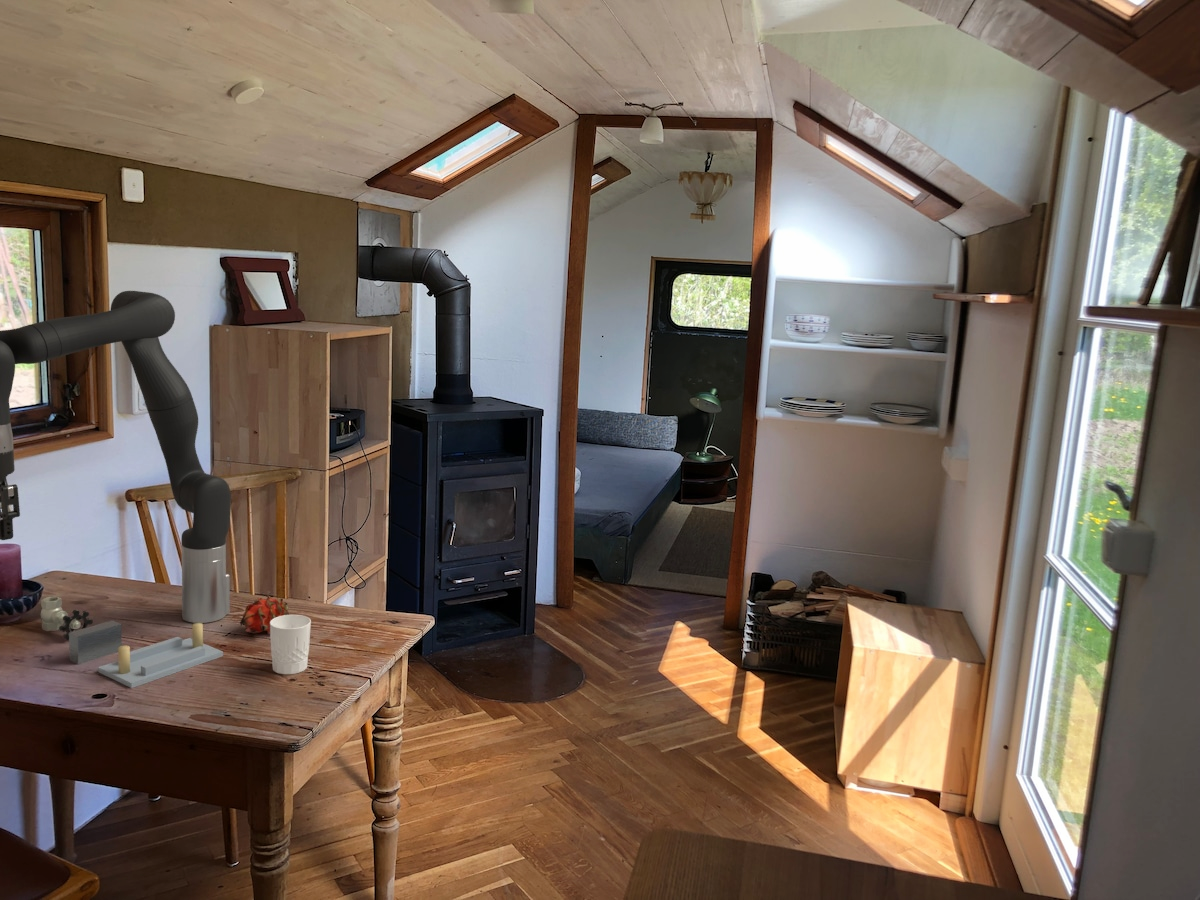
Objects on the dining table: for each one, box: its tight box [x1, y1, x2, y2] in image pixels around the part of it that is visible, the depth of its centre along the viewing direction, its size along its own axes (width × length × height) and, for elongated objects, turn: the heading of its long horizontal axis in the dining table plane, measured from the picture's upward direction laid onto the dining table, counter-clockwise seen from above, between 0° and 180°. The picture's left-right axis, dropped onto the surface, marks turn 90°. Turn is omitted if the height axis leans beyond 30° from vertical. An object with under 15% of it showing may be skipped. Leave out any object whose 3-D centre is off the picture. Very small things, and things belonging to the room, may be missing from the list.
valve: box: [40, 596, 94, 640], centre depth 199 cm, size 7×7×12 cm
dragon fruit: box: [239, 595, 290, 635], centre depth 208 cm, size 8×8×12 cm
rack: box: [97, 623, 224, 689], centre depth 188 cm, size 20×11×6 cm, turn 148°
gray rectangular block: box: [68, 620, 123, 665], centre depth 189 cm, size 9×3×6 cm, turn 148°
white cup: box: [269, 614, 312, 675], centre depth 190 cm, size 8×8×10 cm
